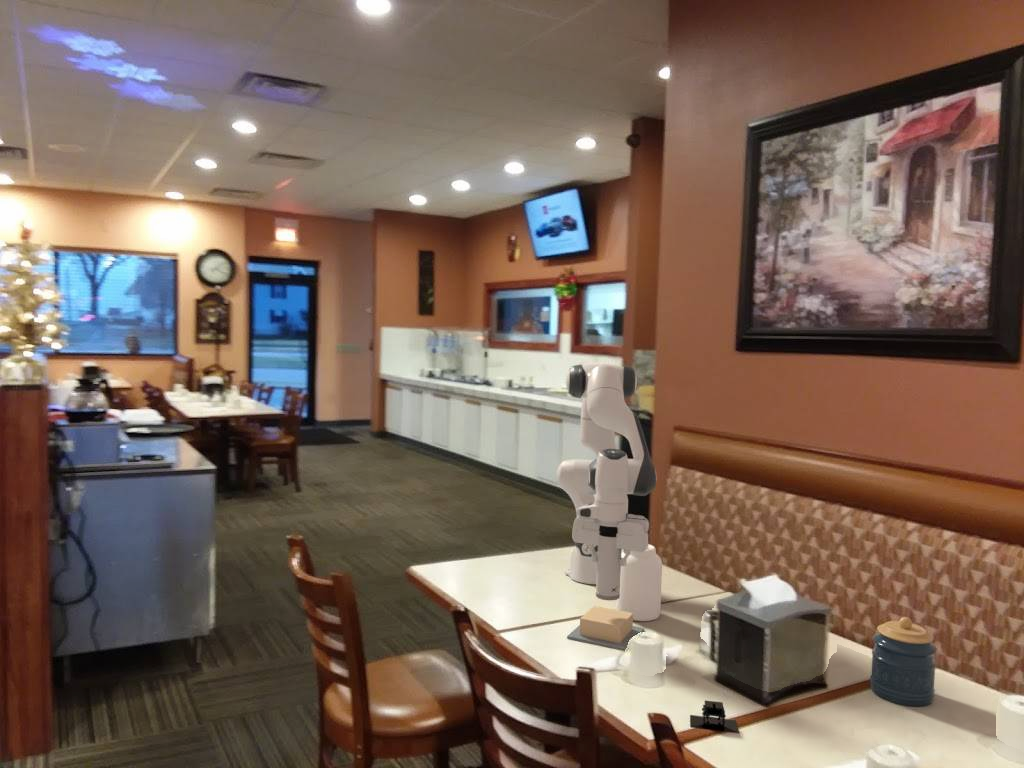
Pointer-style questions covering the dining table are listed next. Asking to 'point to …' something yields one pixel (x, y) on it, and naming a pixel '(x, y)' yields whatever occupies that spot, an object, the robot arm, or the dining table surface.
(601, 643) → the tan block on plate
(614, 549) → the travel mug
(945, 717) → the dining table surface
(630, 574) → the white jar
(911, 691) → the canister
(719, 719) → the build plate
